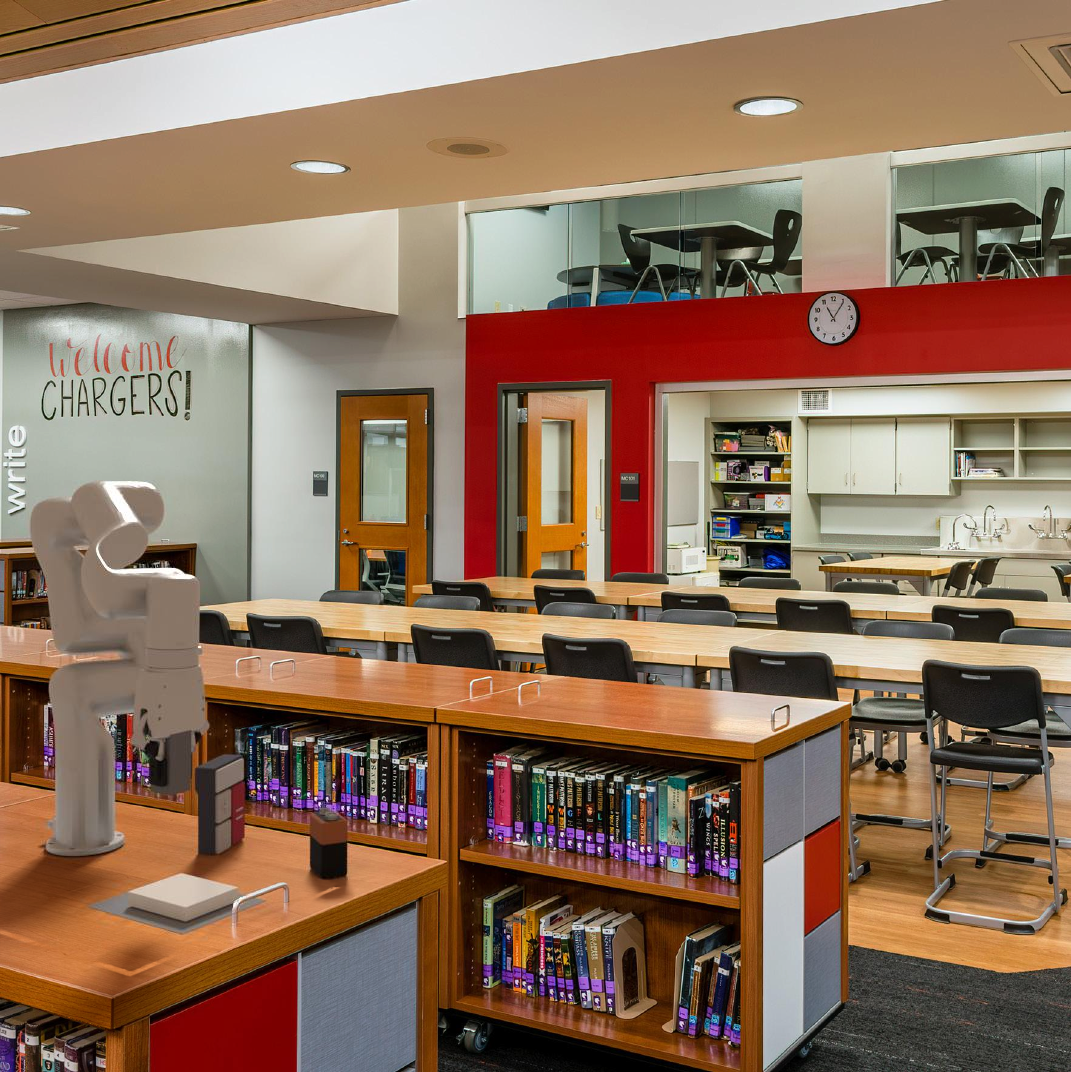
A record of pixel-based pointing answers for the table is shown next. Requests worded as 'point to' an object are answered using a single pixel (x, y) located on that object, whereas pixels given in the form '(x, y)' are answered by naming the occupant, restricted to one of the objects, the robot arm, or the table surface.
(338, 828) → the battery
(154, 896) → the tile
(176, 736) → the block
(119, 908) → the mat
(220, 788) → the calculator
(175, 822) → the table surface
